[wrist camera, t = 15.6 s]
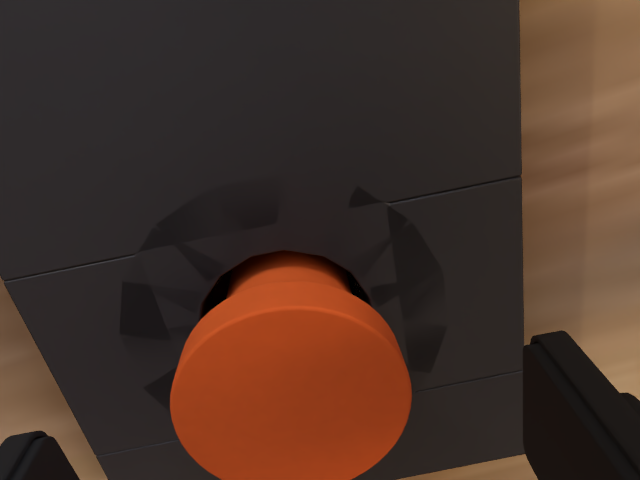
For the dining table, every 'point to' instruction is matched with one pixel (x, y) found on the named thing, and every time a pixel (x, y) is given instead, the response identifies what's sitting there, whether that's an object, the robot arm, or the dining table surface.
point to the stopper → (290, 376)
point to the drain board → (265, 198)
